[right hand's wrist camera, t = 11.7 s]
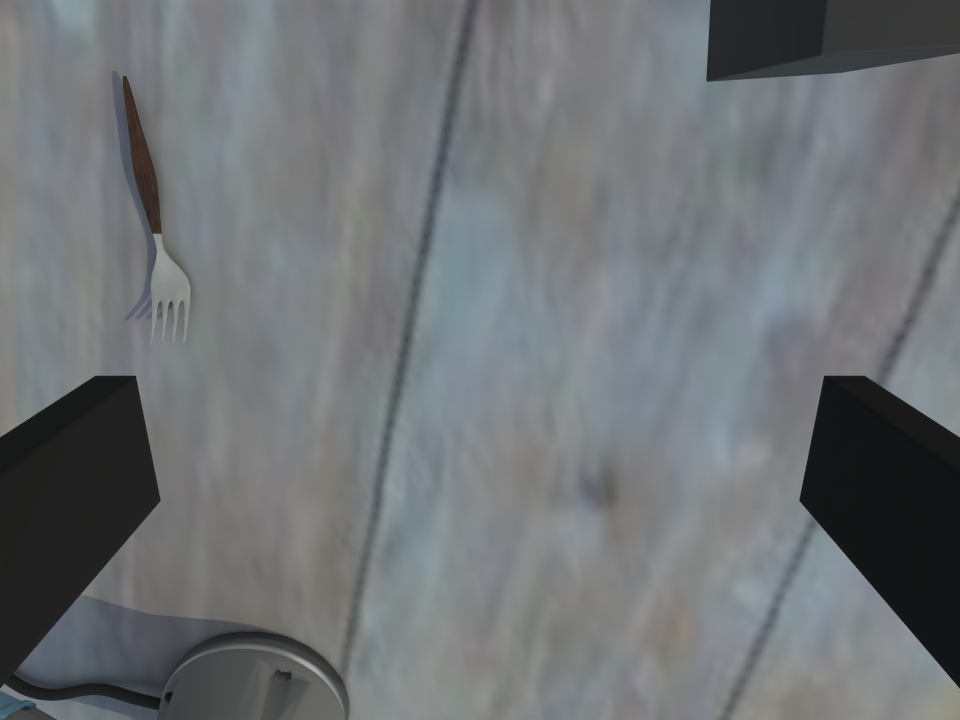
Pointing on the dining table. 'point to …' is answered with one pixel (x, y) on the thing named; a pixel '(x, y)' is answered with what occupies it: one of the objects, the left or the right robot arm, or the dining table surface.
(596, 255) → the dining table surface
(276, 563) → the dining table surface
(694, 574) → the dining table surface
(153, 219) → the fork
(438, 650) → the dining table surface
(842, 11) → the bar
